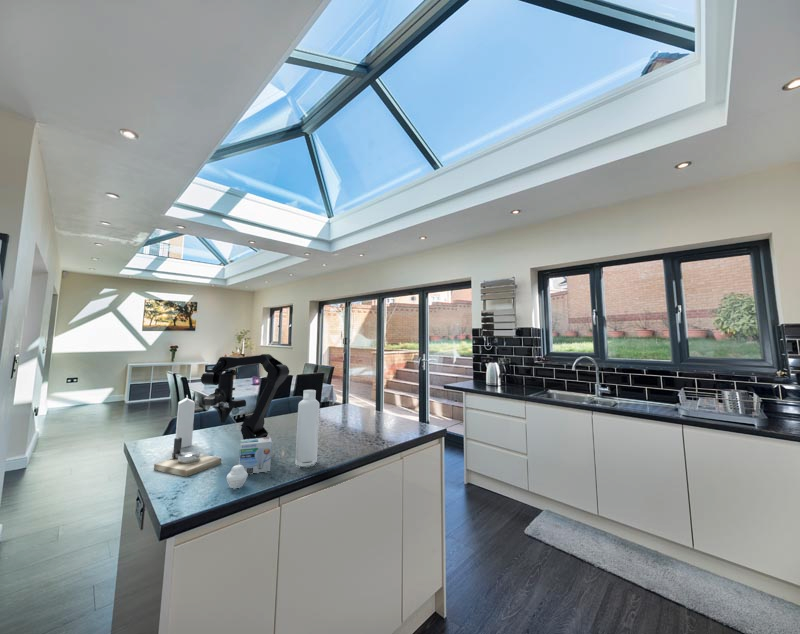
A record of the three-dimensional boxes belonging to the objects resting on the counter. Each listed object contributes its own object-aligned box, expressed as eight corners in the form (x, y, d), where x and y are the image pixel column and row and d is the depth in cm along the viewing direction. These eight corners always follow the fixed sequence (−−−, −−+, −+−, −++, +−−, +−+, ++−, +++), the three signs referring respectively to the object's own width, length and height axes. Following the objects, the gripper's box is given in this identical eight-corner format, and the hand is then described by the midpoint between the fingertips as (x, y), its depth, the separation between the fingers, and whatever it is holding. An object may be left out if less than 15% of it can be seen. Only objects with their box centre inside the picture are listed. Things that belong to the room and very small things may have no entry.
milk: (175, 448, 141) (179, 396, 142) (174, 445, 145) (178, 394, 147) (192, 446, 144) (195, 395, 146) (190, 442, 149) (194, 393, 151)
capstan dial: (204, 458, 123) (205, 439, 123) (185, 464, 116) (187, 444, 117) (183, 454, 127) (185, 435, 128) (164, 459, 121) (166, 440, 121)
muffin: (244, 490, 102) (245, 467, 102) (222, 492, 101) (224, 468, 101) (249, 482, 108) (250, 460, 108) (229, 483, 107) (230, 461, 107)
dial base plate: (220, 463, 125) (221, 457, 125) (186, 476, 111) (186, 470, 112) (189, 457, 130) (189, 452, 130) (152, 469, 117) (153, 463, 117)
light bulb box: (238, 476, 113) (240, 444, 114) (237, 469, 119) (239, 439, 120) (271, 471, 118) (272, 441, 119) (269, 465, 123) (270, 436, 124)
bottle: (321, 462, 128) (324, 390, 131) (307, 469, 121) (310, 392, 123) (305, 459, 131) (308, 388, 134) (290, 465, 124) (294, 390, 127)
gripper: (192, 386, 136) (189, 424, 134) (226, 389, 129) (224, 429, 128) (215, 383, 146) (212, 419, 145) (248, 386, 140) (245, 423, 139)
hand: (222, 422), depth 139 cm, fingers closed
